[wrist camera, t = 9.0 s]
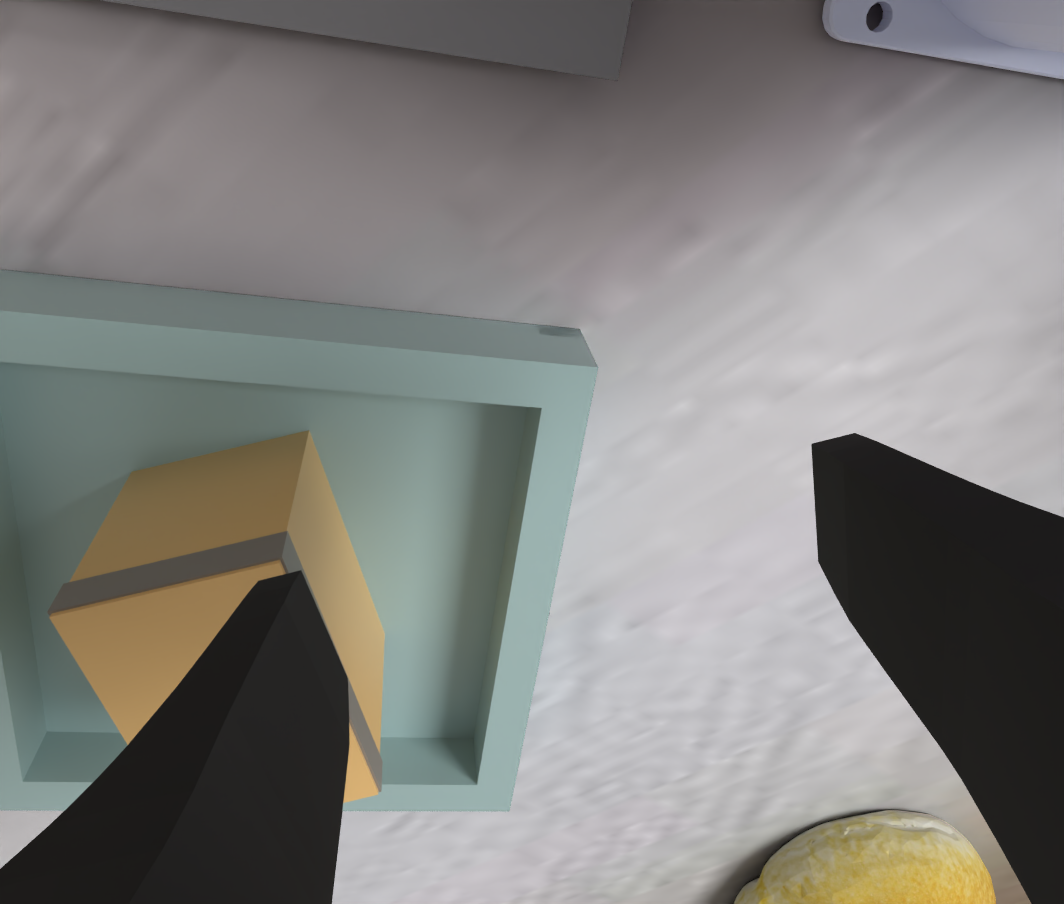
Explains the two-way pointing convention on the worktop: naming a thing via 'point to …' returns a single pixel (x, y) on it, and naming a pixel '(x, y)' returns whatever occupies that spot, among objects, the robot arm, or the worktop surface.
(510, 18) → the grey rectangular frame
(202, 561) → the tan box
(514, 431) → the parts tray
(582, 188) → the worktop surface
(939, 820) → the bread roll
